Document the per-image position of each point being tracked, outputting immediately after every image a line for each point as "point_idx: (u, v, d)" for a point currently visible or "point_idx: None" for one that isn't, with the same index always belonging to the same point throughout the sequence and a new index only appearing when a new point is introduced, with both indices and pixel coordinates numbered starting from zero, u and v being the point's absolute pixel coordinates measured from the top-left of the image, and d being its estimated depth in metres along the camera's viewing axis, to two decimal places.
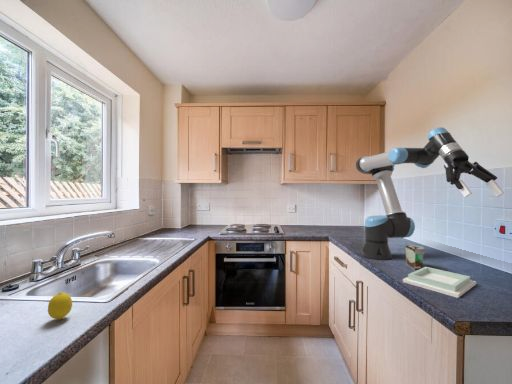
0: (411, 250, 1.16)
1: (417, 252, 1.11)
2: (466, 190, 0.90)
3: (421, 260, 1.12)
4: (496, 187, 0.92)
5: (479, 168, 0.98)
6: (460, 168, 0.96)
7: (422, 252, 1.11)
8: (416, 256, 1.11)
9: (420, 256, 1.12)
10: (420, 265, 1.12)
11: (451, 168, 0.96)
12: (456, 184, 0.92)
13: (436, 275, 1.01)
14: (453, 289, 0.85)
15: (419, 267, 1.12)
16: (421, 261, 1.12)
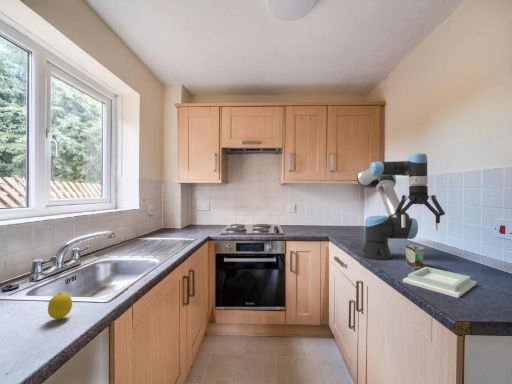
0: (411, 250, 1.16)
1: (417, 252, 1.11)
2: None
3: (421, 260, 1.12)
4: None
5: None
6: (408, 203, 1.17)
7: (422, 252, 1.11)
8: (416, 256, 1.11)
9: (420, 256, 1.12)
10: (420, 265, 1.12)
11: (401, 202, 1.20)
12: None
13: (436, 275, 1.01)
14: (453, 289, 0.85)
15: (419, 267, 1.12)
16: (421, 261, 1.12)
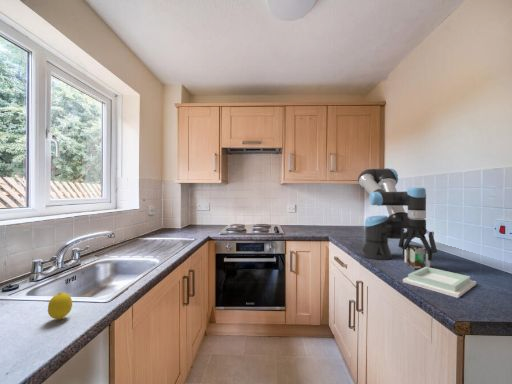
0: (412, 250, 1.16)
1: (417, 252, 1.11)
2: None
3: (421, 260, 1.12)
4: None
5: None
6: (408, 237, 1.18)
7: (422, 252, 1.11)
8: (416, 256, 1.12)
9: (420, 256, 1.12)
10: (421, 265, 1.12)
11: (401, 236, 1.21)
12: None
13: (436, 275, 1.01)
14: (453, 289, 0.85)
15: (419, 267, 1.12)
16: (421, 261, 1.12)
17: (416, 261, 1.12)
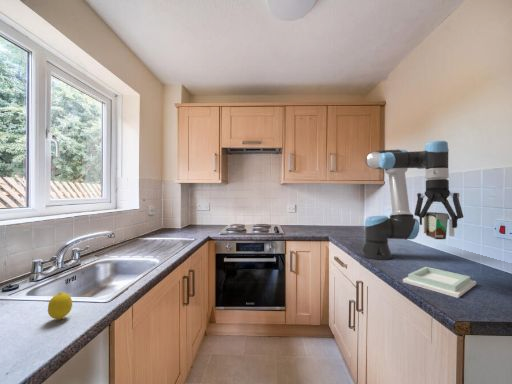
0: (432, 216, 0.96)
1: (439, 217, 0.91)
2: None
3: (444, 228, 0.92)
4: None
5: None
6: (427, 202, 0.98)
7: (445, 217, 0.91)
8: (437, 222, 0.92)
9: (443, 222, 0.92)
10: (443, 233, 0.92)
11: (418, 202, 1.01)
12: None
13: (436, 275, 1.01)
14: (453, 289, 0.85)
15: (441, 236, 0.92)
16: (444, 229, 0.92)
17: (438, 229, 0.92)
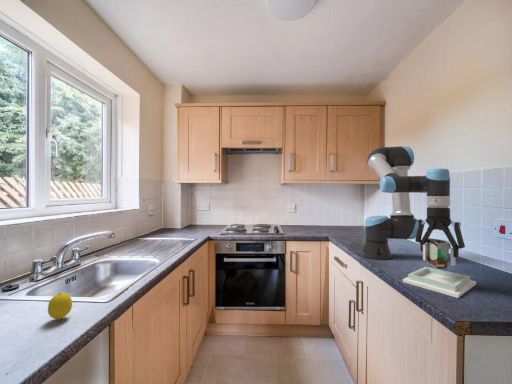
0: (433, 245, 0.95)
1: (440, 247, 0.90)
2: None
3: (445, 257, 0.91)
4: None
5: None
6: (428, 229, 0.97)
7: (447, 247, 0.90)
8: (439, 252, 0.91)
9: (444, 252, 0.91)
10: (444, 263, 0.91)
11: (419, 228, 1.00)
12: None
13: (436, 275, 1.01)
14: (453, 289, 0.85)
15: (442, 265, 0.91)
16: (445, 258, 0.91)
17: (439, 258, 0.91)
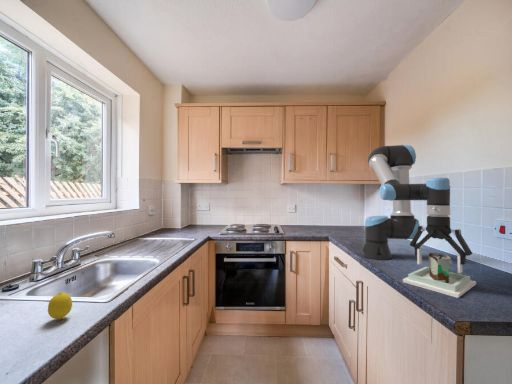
0: (434, 260, 0.95)
1: (440, 262, 0.90)
2: None
3: (446, 272, 0.91)
4: None
5: None
6: (426, 236, 0.98)
7: (447, 263, 0.90)
8: (439, 267, 0.91)
9: (445, 267, 0.91)
10: (445, 278, 0.91)
11: (417, 234, 1.01)
12: None
13: None
14: (453, 289, 0.85)
15: (443, 281, 0.91)
16: (446, 274, 0.91)
17: (439, 274, 0.91)
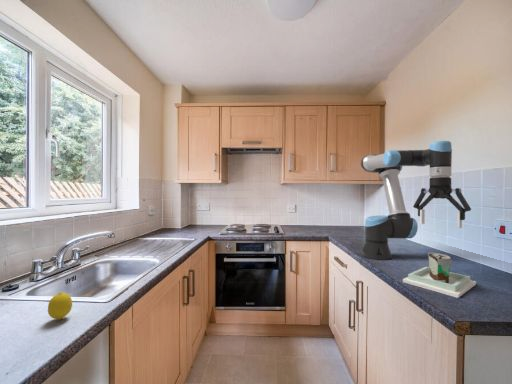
0: (434, 260, 0.95)
1: (440, 262, 0.90)
2: None
3: (446, 272, 0.91)
4: None
5: None
6: (428, 197, 1.05)
7: (447, 263, 0.90)
8: (439, 267, 0.91)
9: (445, 268, 0.91)
10: (445, 278, 0.91)
11: (420, 196, 1.08)
12: None
13: None
14: (453, 289, 0.85)
15: (443, 281, 0.91)
16: (446, 274, 0.91)
17: (439, 274, 0.91)
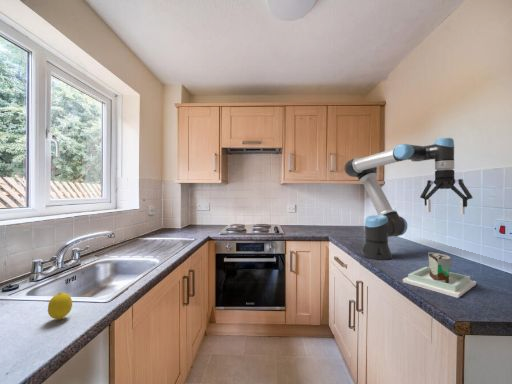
0: (434, 260, 0.95)
1: (440, 262, 0.90)
2: None
3: (446, 272, 0.91)
4: None
5: None
6: (434, 188, 1.18)
7: (447, 263, 0.90)
8: (439, 267, 0.91)
9: (445, 268, 0.91)
10: (445, 278, 0.91)
11: (426, 187, 1.21)
12: None
13: None
14: (453, 289, 0.85)
15: (443, 281, 0.91)
16: (446, 274, 0.91)
17: (439, 274, 0.91)
